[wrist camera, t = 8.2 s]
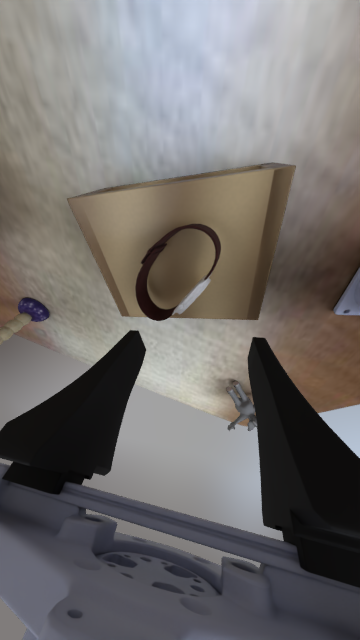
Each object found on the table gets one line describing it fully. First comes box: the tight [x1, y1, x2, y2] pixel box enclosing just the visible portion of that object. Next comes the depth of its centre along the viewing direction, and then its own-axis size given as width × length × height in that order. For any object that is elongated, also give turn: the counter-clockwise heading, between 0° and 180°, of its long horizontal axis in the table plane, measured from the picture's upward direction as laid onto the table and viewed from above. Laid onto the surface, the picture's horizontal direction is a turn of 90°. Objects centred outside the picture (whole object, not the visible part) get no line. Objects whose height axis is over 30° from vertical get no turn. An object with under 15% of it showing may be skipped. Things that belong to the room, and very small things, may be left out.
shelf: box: [67, 163, 296, 320], centre depth 15 cm, size 13×10×5 cm
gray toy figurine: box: [226, 381, 257, 431], centre depth 32 cm, size 10×6×9 cm
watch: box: [135, 224, 221, 321], centre depth 12 cm, size 8×5×4 cm, turn 146°
